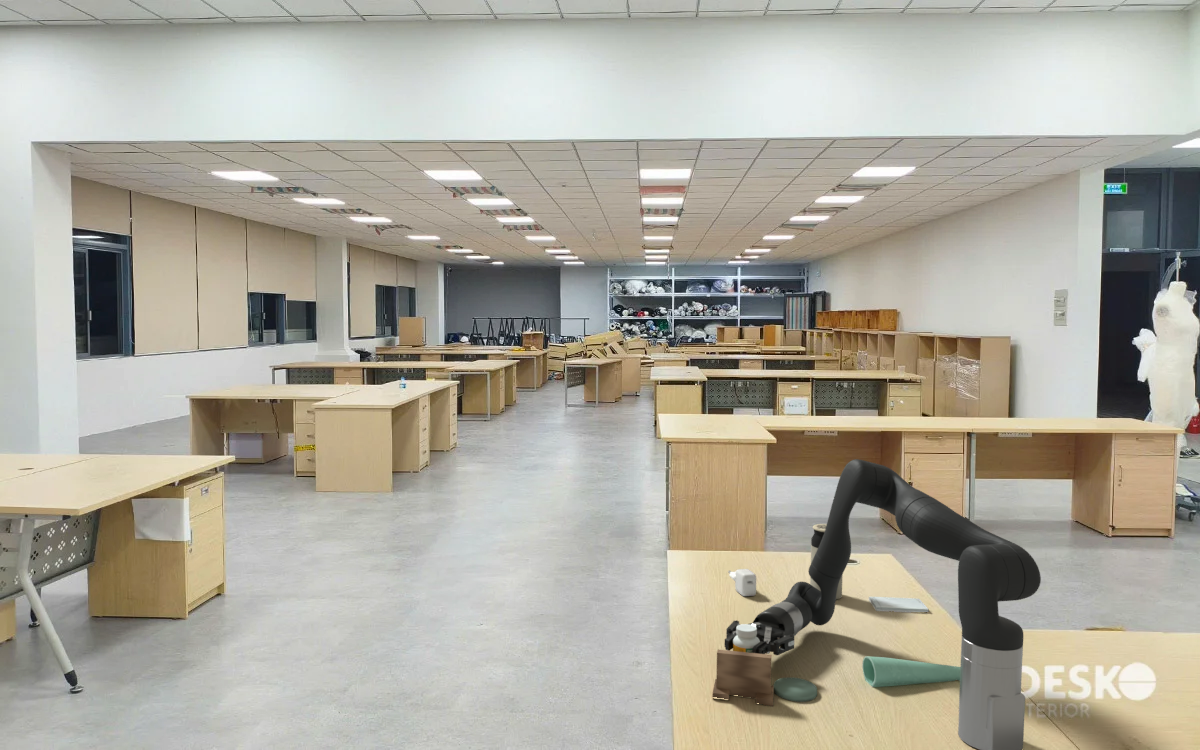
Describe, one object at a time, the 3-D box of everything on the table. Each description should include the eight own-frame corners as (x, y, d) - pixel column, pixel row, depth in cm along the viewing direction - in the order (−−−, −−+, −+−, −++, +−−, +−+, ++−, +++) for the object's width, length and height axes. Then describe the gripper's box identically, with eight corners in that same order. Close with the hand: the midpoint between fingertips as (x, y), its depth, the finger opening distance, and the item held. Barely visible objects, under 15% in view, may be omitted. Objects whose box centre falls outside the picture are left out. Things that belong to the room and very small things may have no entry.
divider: (773, 691, 151) (774, 650, 150) (772, 706, 145) (773, 663, 145) (715, 685, 153) (716, 644, 153) (712, 699, 148) (713, 657, 147)
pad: (824, 699, 148) (824, 694, 148) (784, 703, 146) (784, 698, 146) (805, 680, 156) (805, 675, 156) (766, 684, 154) (766, 679, 154)
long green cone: (1003, 656, 156) (875, 662, 152) (1002, 683, 156) (874, 691, 152) (986, 645, 161) (862, 651, 157) (985, 672, 161) (861, 679, 158)
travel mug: (804, 591, 209) (806, 523, 208) (833, 589, 210) (835, 522, 209) (818, 601, 201) (819, 531, 200) (847, 600, 203) (849, 530, 201)
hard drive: (918, 597, 202) (868, 595, 203) (928, 609, 194) (876, 606, 195) (918, 604, 202) (868, 601, 203) (928, 615, 194) (876, 612, 195)
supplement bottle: (746, 666, 161) (747, 620, 161) (765, 676, 157) (766, 628, 156) (726, 673, 158) (727, 626, 158) (745, 683, 154) (746, 634, 153)
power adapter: (724, 584, 214) (725, 562, 214) (741, 582, 216) (742, 561, 215) (741, 597, 204) (741, 575, 203) (758, 596, 205) (759, 574, 204)
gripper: (748, 599, 172) (708, 622, 159) (811, 614, 164) (774, 639, 150) (747, 633, 173) (708, 658, 160) (810, 649, 164) (773, 678, 151)
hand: (740, 649), depth 155 cm, fingers closed on supplement bottle, 5 cm apart
